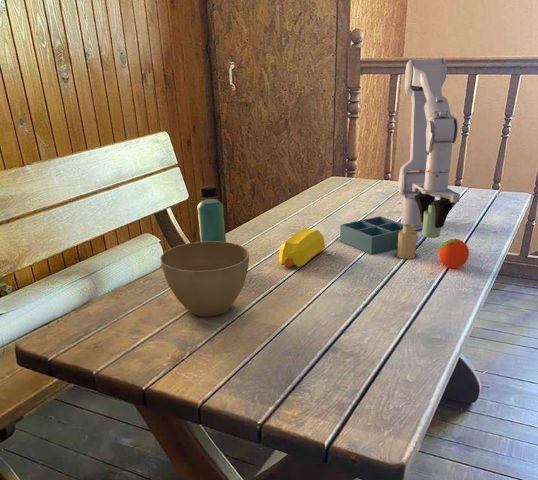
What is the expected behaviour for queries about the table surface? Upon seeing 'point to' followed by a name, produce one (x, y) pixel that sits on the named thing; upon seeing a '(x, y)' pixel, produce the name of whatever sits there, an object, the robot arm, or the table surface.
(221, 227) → the beverage bottle
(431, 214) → the mint bottle
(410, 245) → the cream bottle
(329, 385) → the table surface
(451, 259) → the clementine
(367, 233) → the carrier
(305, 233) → the yellow faceted toy car
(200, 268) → the brown bowl
